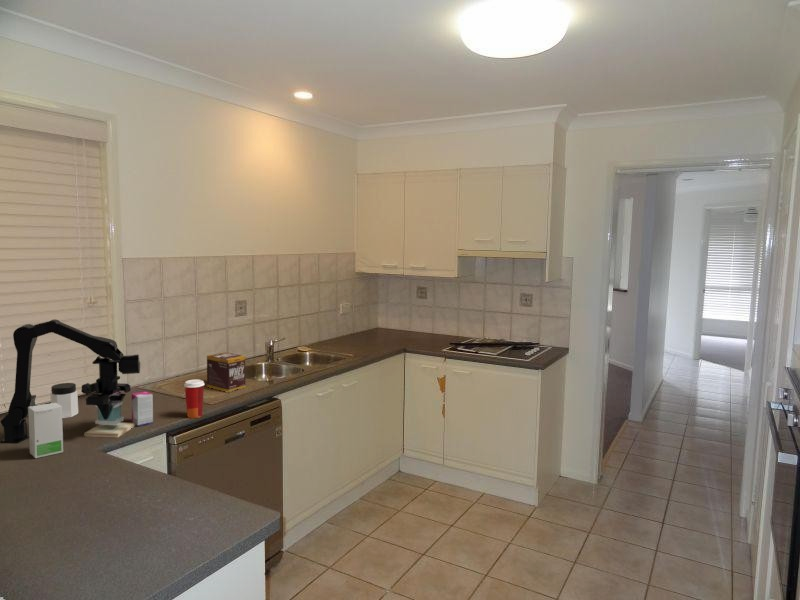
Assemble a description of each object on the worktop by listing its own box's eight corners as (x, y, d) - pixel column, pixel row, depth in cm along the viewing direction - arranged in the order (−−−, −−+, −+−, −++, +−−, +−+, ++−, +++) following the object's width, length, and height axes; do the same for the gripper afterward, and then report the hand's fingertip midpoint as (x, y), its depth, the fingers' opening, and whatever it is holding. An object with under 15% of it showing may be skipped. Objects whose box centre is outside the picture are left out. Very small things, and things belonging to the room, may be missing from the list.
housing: (124, 419, 198) (123, 400, 197) (116, 424, 193) (115, 404, 192) (103, 419, 198) (103, 400, 198) (95, 423, 194) (94, 404, 193)
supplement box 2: (228, 393, 247) (228, 359, 245) (206, 387, 255) (206, 355, 253) (246, 388, 255) (245, 355, 254) (224, 383, 264) (224, 351, 262)
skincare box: (34, 459, 170) (32, 411, 169) (29, 453, 175) (26, 406, 173) (64, 452, 177) (62, 405, 175) (58, 446, 181) (56, 401, 179)
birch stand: (117, 437, 190) (117, 433, 190) (84, 436, 191) (84, 432, 190) (135, 425, 202) (135, 422, 202) (104, 424, 202) (104, 421, 202)
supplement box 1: (153, 423, 205) (152, 393, 204) (137, 426, 201) (136, 397, 200) (147, 419, 209) (146, 390, 208) (131, 423, 205) (130, 393, 204)
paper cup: (200, 411, 220) (199, 378, 218) (208, 416, 214) (207, 381, 213) (180, 415, 214) (180, 381, 213) (189, 420, 209) (188, 385, 207)
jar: (47, 416, 211) (46, 386, 209) (69, 410, 218) (67, 381, 216) (60, 420, 206) (59, 389, 205) (82, 414, 213) (80, 384, 212)
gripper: (101, 368, 204) (103, 408, 205) (69, 380, 185) (71, 424, 187) (130, 369, 203) (131, 409, 205) (101, 381, 185) (103, 426, 186)
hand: (109, 416), depth 196 cm, fingers closed on housing, 5 cm apart
